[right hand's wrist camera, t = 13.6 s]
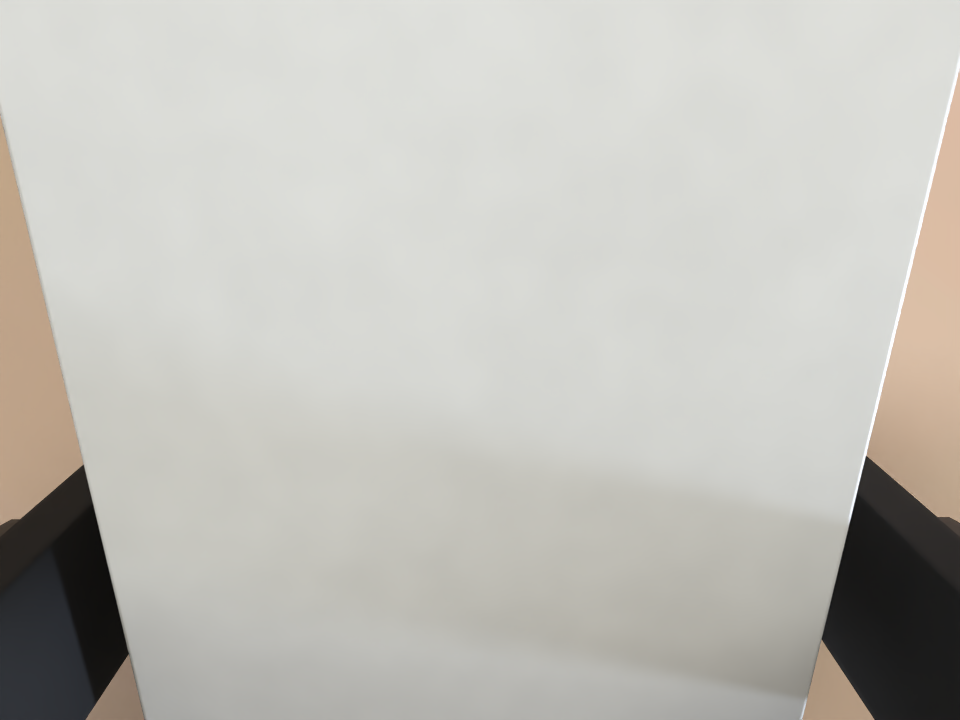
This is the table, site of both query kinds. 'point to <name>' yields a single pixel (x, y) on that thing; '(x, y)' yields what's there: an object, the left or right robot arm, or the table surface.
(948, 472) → the table surface
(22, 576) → the right robot arm
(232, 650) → the wide beam
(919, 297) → the table surface
